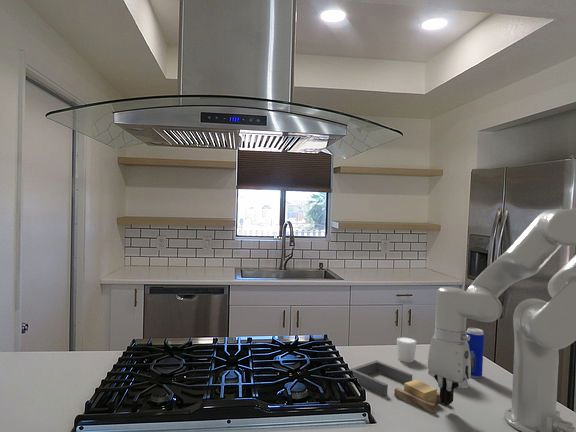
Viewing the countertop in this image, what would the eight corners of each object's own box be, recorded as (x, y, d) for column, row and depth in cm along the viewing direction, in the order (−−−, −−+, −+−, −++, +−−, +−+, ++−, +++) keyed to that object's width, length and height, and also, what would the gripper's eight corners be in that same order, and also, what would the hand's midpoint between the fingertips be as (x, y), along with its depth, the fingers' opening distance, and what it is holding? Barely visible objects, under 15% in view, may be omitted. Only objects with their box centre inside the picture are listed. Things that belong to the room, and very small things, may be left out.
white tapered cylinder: (415, 357, 145) (415, 338, 145) (416, 364, 138) (417, 344, 138) (395, 354, 147) (396, 336, 147) (396, 361, 140) (397, 341, 140)
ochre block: (436, 403, 111) (436, 389, 110) (423, 407, 108) (424, 393, 108) (416, 393, 116) (416, 379, 116) (403, 397, 114) (404, 383, 114)
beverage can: (461, 372, 132) (463, 327, 132) (473, 371, 134) (475, 326, 134) (472, 379, 127) (474, 332, 127) (485, 377, 129) (487, 331, 129)
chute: (449, 404, 110) (449, 397, 110) (432, 413, 104) (432, 405, 104) (411, 388, 119) (411, 381, 119) (394, 395, 114) (394, 388, 114)
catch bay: (412, 384, 122) (412, 374, 122) (384, 395, 113) (385, 385, 113) (376, 369, 132) (376, 360, 132) (348, 378, 124) (349, 369, 124)
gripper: (484, 340, 102) (481, 410, 102) (431, 325, 114) (428, 388, 114) (470, 345, 97) (466, 419, 98) (416, 329, 109) (413, 395, 109)
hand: (446, 402), depth 106 cm, fingers closed
